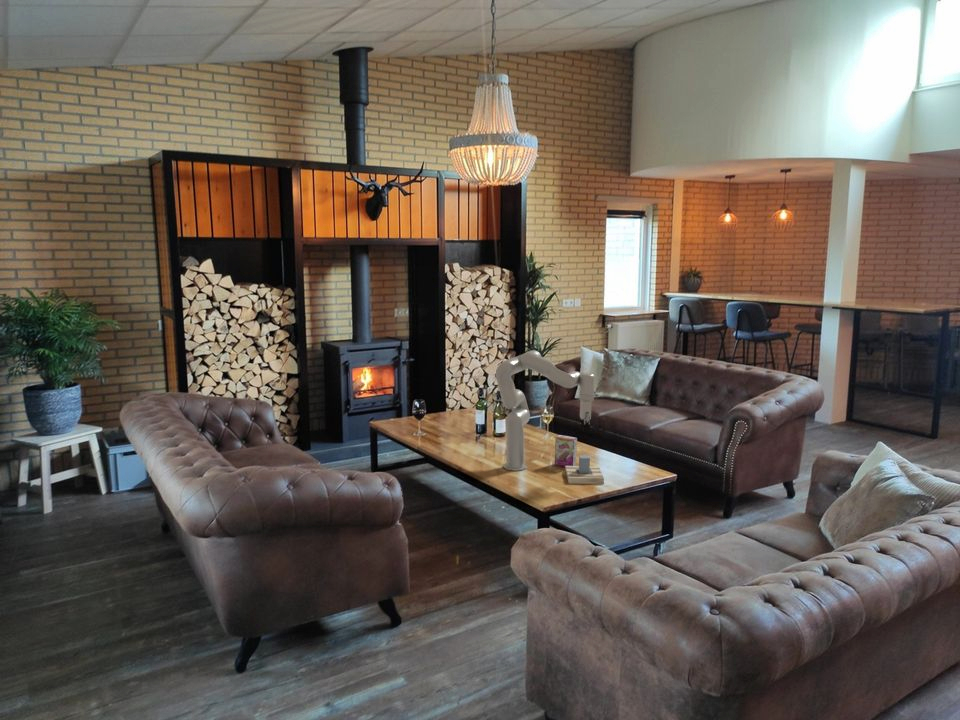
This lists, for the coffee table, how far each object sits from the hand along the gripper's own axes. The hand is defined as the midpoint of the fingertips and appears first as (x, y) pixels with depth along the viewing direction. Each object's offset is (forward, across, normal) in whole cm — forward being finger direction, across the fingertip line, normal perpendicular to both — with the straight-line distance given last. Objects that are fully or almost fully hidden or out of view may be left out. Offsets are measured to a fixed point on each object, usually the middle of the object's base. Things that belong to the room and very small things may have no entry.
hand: (585, 429), depth 371 cm
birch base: (+26, 0, 0) cm, 26 cm away
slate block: (+23, 0, 0) cm, 23 cm away
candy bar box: (+26, -20, -8) cm, 34 cm away
